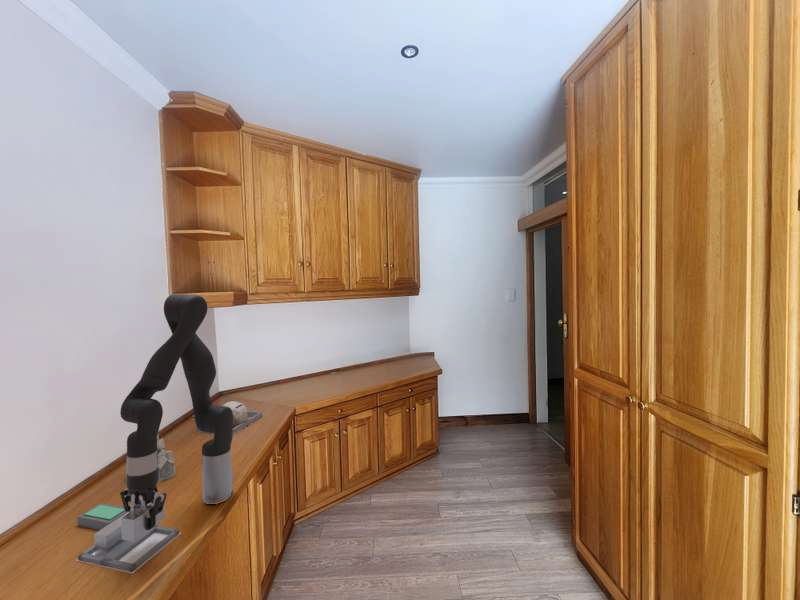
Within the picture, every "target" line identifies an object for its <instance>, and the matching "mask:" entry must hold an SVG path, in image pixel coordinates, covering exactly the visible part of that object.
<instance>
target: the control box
mask: <svg viewBox="0 0 800 600" xmlns="http://www.w3.org/2000/svg"><path fill="white" fill-rule="evenodd" d="M99 505H104V506H109V507H115V508H120V509H124V506H120V505H115V504H109V503H104V502H101V503H99V504H97V505H95V506H93V507H91V508H90V509H88V510H87V511H85V512H84V513H82V514H79V515H78V516H77V526H78V527H82V528H88V529H93V530H98V531H99V530H101V529H103V528H104V527H106V526H107V525H109V524H110V523H112V522H113V521H115V520H116V519H118V518H119V517H121V516H123V515H124V514H126V513H127V512H126V511H124V512H123V513H121V514H120V515H118V516H116V517H115V518H113V519H112V520H110V521H109V520H104V519H99V518H93V517H88V516H85V515H84V514H86V513H87V512H89V511H91V510H93V509H94V508H96V507H98V506H99ZM128 512H129V511H128Z"/></svg>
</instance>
